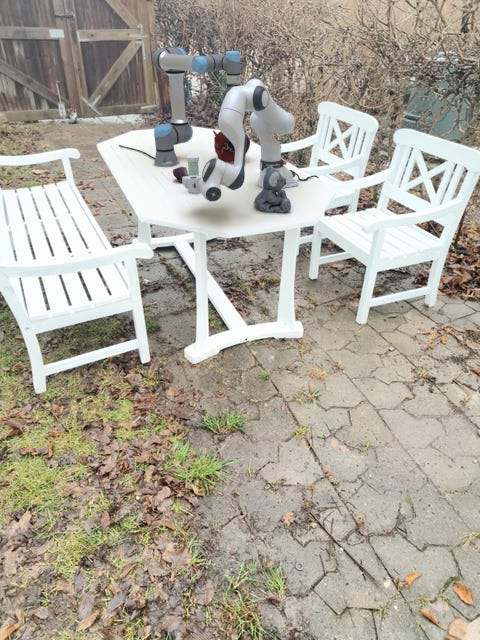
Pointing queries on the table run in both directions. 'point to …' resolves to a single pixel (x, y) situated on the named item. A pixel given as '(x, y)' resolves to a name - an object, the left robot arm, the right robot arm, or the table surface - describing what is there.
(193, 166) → the jar
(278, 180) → the koala plush
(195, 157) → the lid
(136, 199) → the table surface
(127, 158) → the table surface
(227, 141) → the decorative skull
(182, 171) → the rock
